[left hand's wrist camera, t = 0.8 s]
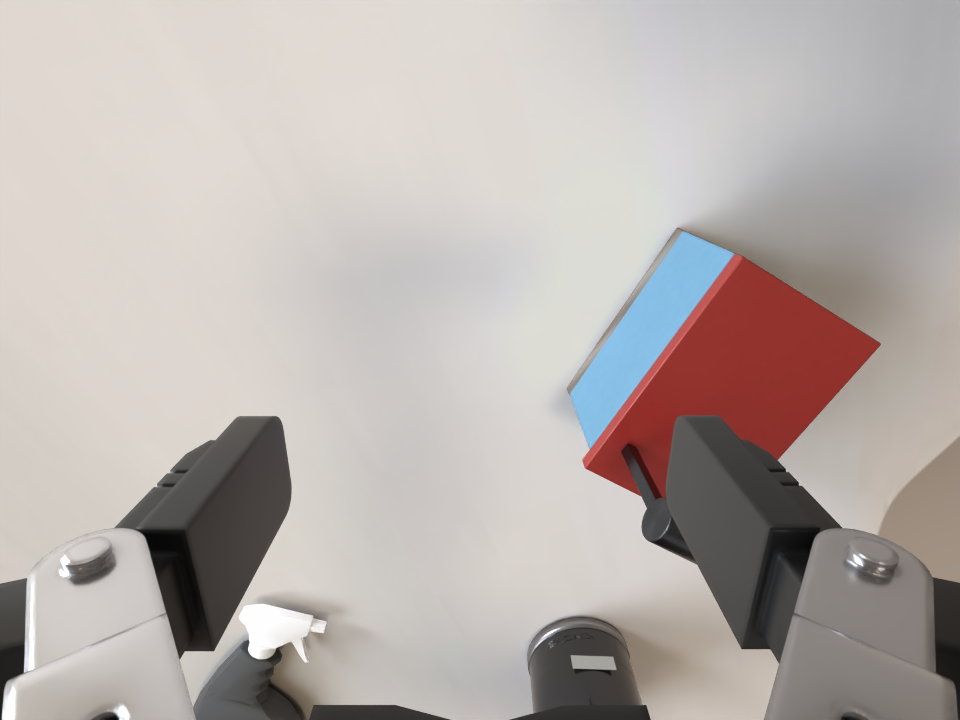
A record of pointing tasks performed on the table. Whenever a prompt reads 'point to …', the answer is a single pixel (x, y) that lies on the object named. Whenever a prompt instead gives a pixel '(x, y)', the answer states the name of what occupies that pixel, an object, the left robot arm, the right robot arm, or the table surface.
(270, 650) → the wireless presentation dongle
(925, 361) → the table surface
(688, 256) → the chest
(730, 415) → the lid
